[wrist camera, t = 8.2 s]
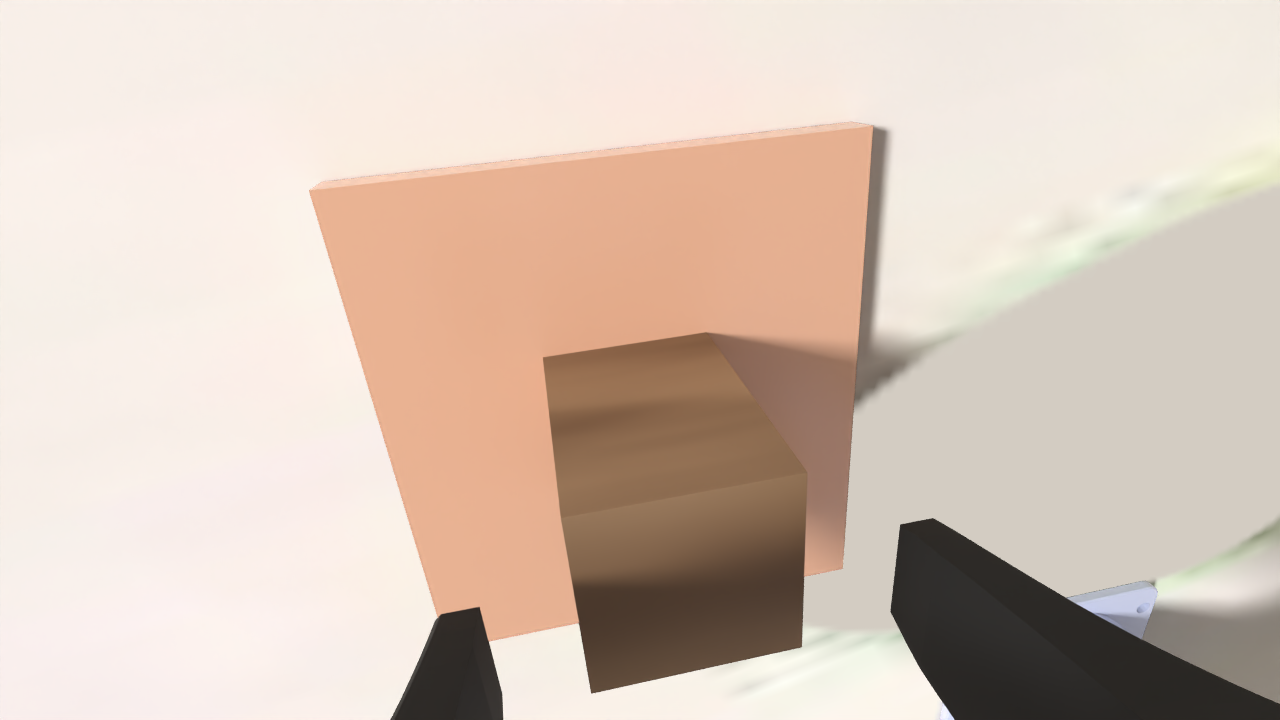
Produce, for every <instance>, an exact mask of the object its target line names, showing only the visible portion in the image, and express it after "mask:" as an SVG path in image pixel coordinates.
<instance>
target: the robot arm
mask: <svg viewBox="0 0 1280 720" xmlns="http://www.w3.org/2000/svg"><path fill="white" fill-rule="evenodd" d="M1157 593H1158V591H1157V589H1156V588H1155V587H1154V586H1153V585H1152V584H1150V583H1149V582H1147V581H1140V582H1135V583H1131V584H1126V585H1122V586H1117V587H1113V588H1108V589H1104V590H1099V591H1094V592H1090V593H1085V594H1081V595H1077V596H1072V597H1067V598H1065V597H1064V596H1062V595H1060V594H1059V593H1057V592H1055V591H1053V590H1052V589H1050V588H1048V587H1047V586H1045V585H1043V584H1042V583H1040V582H1038V581H1036V580H1035V579H1033V578H1031V577H1030V576H1028V575H1026V574H1025V573H1023V572H1022V571H1020V570H1018V569H1017V568H1015V567H1013V566H1012V565H1010V564H1008V563H1007V562H1005V561H1003V560H1001V559H1000V558H998V557H997V556H995V555H994V554H992V553H990V552H989V551H987V550H985V549H984V548H982V547H981V546H979V545H977V544H976V543H974V542H972V541H971V540H969V539H967V538H966V537H964V536H963V535H961V534H959V533H958V532H956V531H954V530H953V529H951V528H949V527H947V526H946V525H944V524H942V523H941V522H939V521H937V520H935V519H933V518H932V519H926V520H921V521H916V522H911V523H906V524H901V525H900V531H899V540H898V549H897V559H896V567H895V576H894V585H893V594H892V603H891V614H892V615H893V617H894V619H895V621H896V623H897V625H898V627H899V629H900V631H901V633H902V635H903V637H904V639H905V641H906V643H907V645H908V647H909V649H910V651H911V653H912V654H913V656H914V658H915V660H916V662H917V664H918V665H919V667H920V669H921V671H922V672H923V674H924V675H925V677H926V678H927V680H928V681H929V683H930V684H931V686H932V687H933V689H934V690H935V692H936V693H937V695H938V696H939V698H940V699H941V701H942V702H943V706H942V712H941V717H940V720H1280V704H1279V703H1276V702H1274V701H1271V700H1269V699H1267V698H1264V697H1262V696H1260V695H1258V694H1255V693H1253V692H1251V691H1248V690H1246V689H1244V688H1242V687H1239V686H1237V685H1235V684H1233V683H1230V682H1228V681H1226V680H1224V679H1222V678H1220V677H1218V676H1216V675H1214V674H1211V673H1209V672H1207V671H1205V670H1203V669H1201V668H1199V667H1197V666H1194V665H1192V664H1190V663H1188V662H1186V661H1184V660H1182V659H1180V658H1178V657H1175V656H1173V655H1171V654H1169V653H1167V652H1165V651H1163V650H1161V649H1159V648H1157V647H1155V646H1153V645H1152V644H1150V643H1148V642H1146V641H1144V640H1142V637H1143V634H1144V631H1145V629H1146V626H1147V623H1148V620H1149V617H1150V615H1151V612H1152V609H1153V606H1154V603H1155V600H1156V598H1157ZM391 720H503V702H502V691H501V687H500V684H499V680H498V676H497V672H496V668H495V664H494V660H493V657H492V653H491V649H490V645H489V641H488V637H487V633H486V630H485V626H484V622H483V618H482V614H481V610H480V607H475V608H470V609H465V610H460V611H455V612H450V613H444V614H441V615H440V616H439V617H438V618H437V619H436V621H435V623H434V625H433V628H432V630H431V633H430V635H429V638H428V640H427V642H426V645H425V647H424V649H423V652H422V654H421V656H420V659H419V661H418V663H417V666H416V668H415V670H414V672H413V674H412V677H411V679H410V681H409V683H408V685H407V687H406V689H405V692H404V694H403V696H402V698H401V700H400V702H399V704H398V706H397V708H396V710H395V712H394V714H393V716H392V718H391Z"/></svg>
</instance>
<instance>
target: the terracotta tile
mask: <svg viewBox="0 0 1280 720" xmlns="http://www.w3.org/2000/svg"><path fill="white" fill-rule="evenodd" d="M872 135H873V126H871V125H866V124H861V123H855V122H846V123H838V124H829V125H820V126H811V127H802V128H793V129H785V130H776V131H767V132H758V133H749V134H740V135H731V136H723V137H714V138H705V139H696V140H687V141H678V142H670V143H661V144H652V145H643V146H634V147H625V148H616V149H608V150H599V151H590V152H581V153H572V154H563V155H554V156H546V157H537V158H528V159H519V160H510V161H501V162H493V163H484V164H475V165H466V166H457V167H448V168H439V169H431V170H422V171H413V172H404V173H395V174H386V175H378V176H369V177H360V178H351V179H342V180H333V181H324V182H321V183H319V184H318V185H316V186H315V187H313V188H312V189H310V190H309V192H310V196H311V199H312V202H313V206H314V209H315V212H316V215H317V219H318V222H319V225H320V229H321V232H322V235H323V239H324V242H325V245H326V249H327V252H328V255H329V259H330V262H331V265H332V268H333V272H334V275H335V278H336V282H337V285H338V288H339V292H340V295H341V298H342V302H343V305H344V308H345V312H346V315H347V318H348V322H349V325H350V328H351V331H352V335H353V338H354V341H355V345H356V348H357V351H358V355H359V358H360V361H361V365H362V368H363V371H364V375H365V378H366V381H367V385H368V388H369V391H370V394H371V398H372V401H373V404H374V408H375V411H376V414H377V418H378V421H379V424H380V428H381V431H382V434H383V438H384V441H385V444H386V447H387V451H388V454H389V457H390V461H391V464H392V467H393V471H394V474H395V477H396V481H397V484H398V487H399V491H400V494H401V497H402V501H403V504H404V507H405V510H406V514H407V517H408V520H409V524H410V527H411V530H412V534H413V537H414V540H415V544H416V547H417V550H418V554H419V557H420V560H421V563H422V567H423V570H424V573H425V577H426V580H427V583H428V587H429V590H430V593H431V597H432V600H433V603H434V607H435V610H436V613H437V617H439V616H440V615H441V614H444V613H450V612H455V611H460V610H465V609H470V608H475V607H480V610H481V614H482V618H483V622H484V626H485V630H486V633H487V637H488V641H493V640H498V639H503V638H508V637H513V636H518V635H523V634H528V633H532V632H537V631H542V630H547V629H552V628H557V627H562V626H567V625H571V624H576V623H579V620H578V614H577V608H576V603H575V597H574V591H573V585H572V580H571V574H570V568H569V562H568V557H567V551H566V545H565V540H564V534H563V528H562V522H561V516H560V507H559V498H558V489H557V480H556V471H555V462H554V453H553V444H552V435H551V427H550V418H549V409H548V400H547V391H546V382H545V373H544V364H543V357H548V356H555V355H561V354H568V353H574V352H581V351H587V350H594V349H600V348H607V347H613V346H620V345H626V344H633V343H639V342H646V341H652V340H659V339H665V338H672V337H678V336H685V335H692V334H698V333H705V332H707V333H708V335H709V336H710V337H711V339H712V340H713V342H714V343H715V344H716V346H717V347H718V349H719V350H720V351H721V353H722V354H723V355H724V357H725V358H726V360H727V361H728V362H729V364H730V365H731V367H732V368H733V369H734V371H735V372H736V374H737V375H738V376H739V378H740V379H741V381H742V382H743V383H744V385H745V386H746V387H747V389H748V390H749V392H750V393H751V394H752V396H753V397H754V399H755V400H756V401H757V403H758V404H759V406H760V407H761V408H762V410H763V411H764V413H765V414H766V415H767V417H768V418H769V419H770V421H771V422H772V424H773V425H774V426H775V428H776V429H777V431H778V432H779V433H780V435H781V436H782V438H783V439H784V440H785V442H786V443H787V445H788V446H789V447H790V449H791V450H792V451H793V453H794V454H795V456H796V457H797V458H798V460H799V461H800V463H801V464H802V465H803V467H804V468H805V470H806V471H807V472H808V476H807V506H806V536H805V566H804V577H805V576H810V575H815V574H820V573H825V572H830V571H834V570H839V569H842V568H843V556H844V542H845V527H846V512H847V497H848V482H849V467H850V454H851V439H852V424H853V411H854V396H855V382H856V367H857V353H858V338H859V324H860V309H861V294H862V280H863V265H864V251H865V236H866V222H867V207H868V193H869V178H870V164H871V149H872Z"/></svg>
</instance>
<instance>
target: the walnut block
mask: <svg viewBox="0 0 1280 720" xmlns="http://www.w3.org/2000/svg"><path fill="white" fill-rule="evenodd" d="M543 364H544V373H545V382H546V391H547V400H548V409H549V418H550V427H551V435H552V444H553V453H554V462H555V471H556V480H557V489H558V498H559V507H560V516H561V522H562V528H563V534H564V540H565V545H566V551H567V557H568V562H569V568H570V574H571V580H572V585H573V591H574V597H575V603H576V608H577V614H578V620H579V626H580V631H581V637H582V643H583V649H584V654H585V660H586V666H587V672H588V677H589V683H590V689H591V694H592V693H596V692H601V691H605V690H610V689H614V688H619V687H624V686H628V685H633V684H637V683H642V682H646V681H651V680H655V679H660V678H664V677H669V676H673V675H678V674H682V673H687V672H692V671H696V670H701V669H705V668H710V667H714V666H719V665H723V664H728V663H732V662H737V661H741V660H746V659H750V658H755V657H760V656H764V655H769V654H773V653H778V652H782V651H787V650H791V649H796V648H800V647H802V626H803V596H804V595H803V594H804V566H805V536H806V506H807V476H808V472H807V471H806V470H805V468H804V467H803V465H802V464H801V463H800V461H799V460H798V458H797V457H796V456H795V454H794V453H793V451H792V450H791V449H790V447H789V446H788V445H787V443H786V442H785V440H784V439H783V438H782V436H781V435H780V433H779V432H778V431H777V429H776V428H775V426H774V425H773V424H772V422H771V421H770V419H769V418H768V417H767V415H766V414H765V413H764V411H763V410H762V408H761V407H760V406H759V404H758V403H757V401H756V400H755V399H754V397H753V396H752V394H751V393H750V392H749V390H748V389H747V387H746V386H745V385H744V383H743V382H742V381H741V379H740V378H739V376H738V375H737V374H736V372H735V371H734V369H733V368H732V367H731V365H730V364H729V362H728V361H727V360H726V358H725V357H724V355H723V354H722V353H721V351H720V350H719V349H718V347H717V346H716V344H715V343H714V342H713V340H712V339H711V337H710V336H709V335H708V333H707V332H705V333H698V334H692V335H685V336H678V337H672V338H665V339H659V340H652V341H646V342H639V343H633V344H626V345H620V346H613V347H607V348H600V349H594V350H587V351H581V352H574V353H568V354H561V355H555V356H548V357H543Z"/></svg>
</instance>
